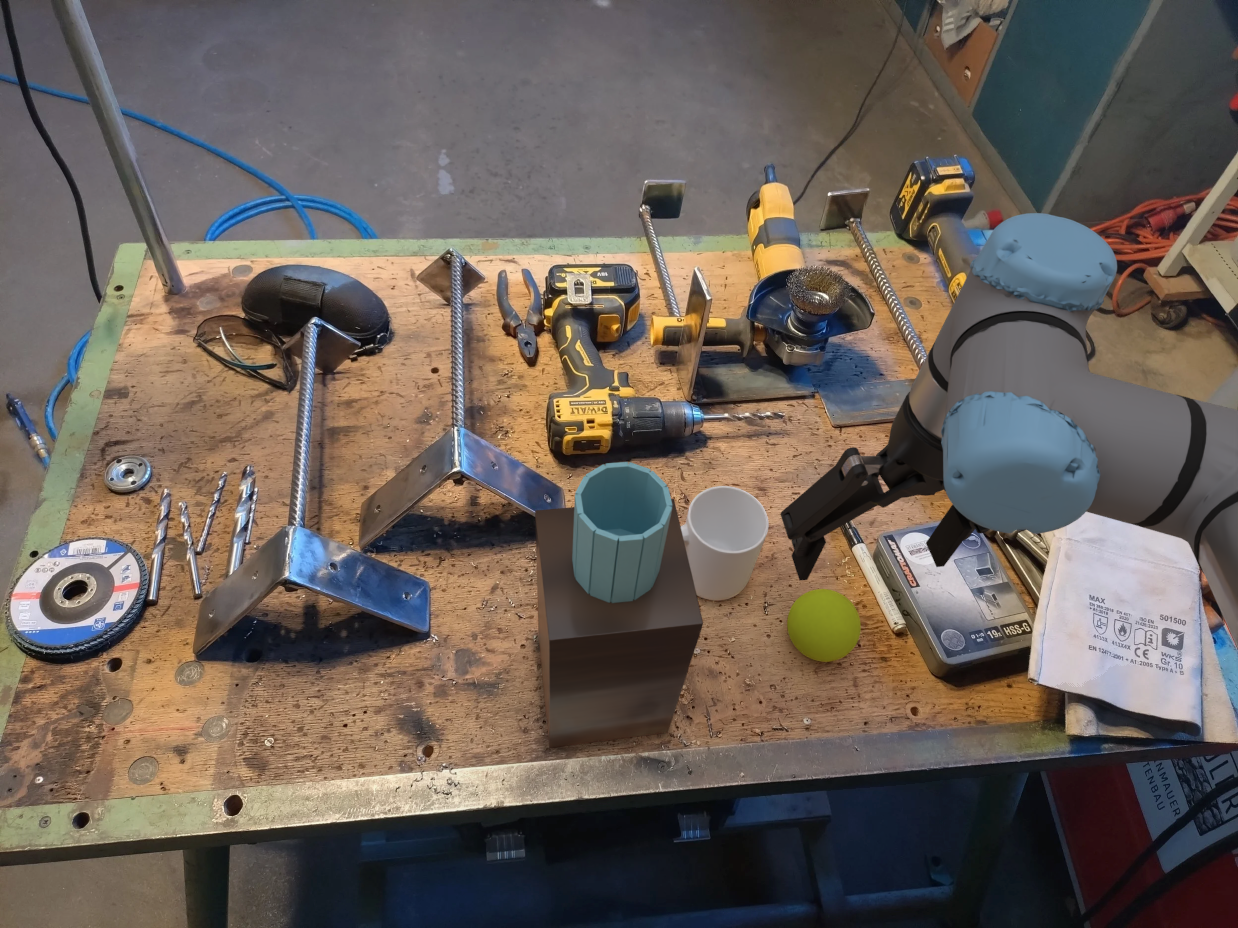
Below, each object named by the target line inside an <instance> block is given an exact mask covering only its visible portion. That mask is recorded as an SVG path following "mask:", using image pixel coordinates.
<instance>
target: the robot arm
mask: <svg viewBox="0 0 1238 928" xmlns="http://www.w3.org/2000/svg"><path fill="white" fill-rule="evenodd" d="M1116 257H1117V256H1116V255H1115V253H1114V250H1113V248H1112V247H1111V246H1110V245H1109V244H1108V242H1106V239H1104V238H1103V237H1102V236H1101V235H1099V234H1098V233H1097V232H1096V231H1094V230H1093V229H1091V228H1089V227H1087V226H1086V225H1084V224H1082V223H1080V222H1077V221H1075V220H1073V219H1070V218H1066V217H1062V216H1057V215H1054V214H1049V213H1042V212H1040V213H1039V212H1031V213H1030V212H1028V213H1022V214H1018V215H1014V216H1011V217H1008V218H1006V219H1005V220H1003V221H1002V222H1000V223H999V224H998V225H997V226H996V227H994V229H993V230H992V232H991V233H990V235H989V237H988V238H987V240H986V242H985V243H984V245H983V246H982V248H981V250H980V251H979V253H978V254H977V256H976V257H975V258H974V259H973V260H972V261H971V263H970V265H969V269H970V270H969V272H968V274H967V277H965V281H964V282H963V284H962V286H961V288H960V289H959V292H958V294H957V296H956V298H955V300H954V302H953V305H952V306H951V308H950V310H949V312H948V314H947V316H946V318H945V320H944V321H943V324H942V326H941V328H940V330H939V332H938V334H937V335H936V338H935V341H934V342H933V344H932V346H931V348H930V350H929V351H928V353H927V355H926V357H925V359H924V361H923V363H922V365H921V367H920V368H919V371H918V373H917V375H916V377H915V378H914V380H913V383H912V384H911V387H910V390H909V391H908V392H907V394H906V395H905V397H904V399H903V401H902V403H901V404H900V405H901V406H900V407H899V409H898V412H896V415H895V417H894V419H893V420H892V424H891V427H890V431H889V437H888V441H887V444H886V446H885V447H883V448H882V449H881V450H880V451H878V452H877V454H875V455H861V453H860V451H859V448H857V447H855V446H853V447H849V448H847V449H845V450H844V451H843V452H842V454H841V455H840V458H839V459H838V461H837V462H836V464H835V465H834V466H833V467H831V469H829V470H828V471H827V472H826V473H825V474H823V475H822V476H821V477H820V478H819V479H818V480H816V482H815V483H813V484H812V485H811V486H809V487H808V488H807V489H806V490H805V491H804V492H803V493H801V494H800V495H799V496H798V497H797V498H796V499H795V500H792V502H791V503H790V504H788V505H787V506H786V507H785V508H784V509H783V510H782V511H781V512H780V517H781V520H782V524H783V528H784V530H785V533H786V536H787V538H788V540H791V541H790V542H791V544H792V548H793V550H792V551H793V552H792V554H791V559H792V561H793V564H794V568H795V571H796V574H797V577H798V580H799V581H808V579H809V577H810V575H811V573H812V571H813V569H814V567H815V565H816V563H817V561H818V559H819V557H820V555H821V554H822V551H823V549H824V547H825V546H826V544H827V541H826V538H825V536H827V535H829V534H830V533H832V532H835V530H837V529H839V528H841V527H842V526H844V525H846V524H848V523H850V522H851V521H853V520H855V519H856V518H858V517H860V516H862V515H863V514H865V513H867V512H869V511H870V510H872V509H874V508H875V507H880V508H886V507H888V506H890V505H891V504H894V503H895V502H897V501H899V500H900V499H902V498H905V499H906V498H911V497H915V496H926V497H927V496H935V494H937V493H939V492H942V491H944V492H945V493H946V495H947V498H948V500H949V501H950V503H951V505H950V507H949V508H948V510H947V511H946V513H945V514H944V516H943V518H942V519H941V520H940V522H939V523H938V525H936V528H935V529H934V531H932V533H931V534H930V536H929V537H928V539H927V541H926V542H925V544H926V546H927V547H926V548H927V549H928V551H929V554H930V556H931V558H932V560H933V563H934V565H935V567H936V568H940V567H945V566H946V564H947V563H948V562H949V560H950V559H951V558H952V557H953V555H954V554H955V552H956V551H957V550H958V549H959V547H960V546H961V544H962V543H963V542H964V541H966V540H968V539H969V538H970V537H971V535H972V534H973V533H974V532H975V531H976V533H977V534H985V533H987V532H989V531H990V530H992V531H994V532H999V533H1004V534H1013V533H1014V532H1015V531H1025V530H1026V531H1028V532H1030V533H1031V534H1034V535H1036V534H1045V533H1049V532H1053V531H1056V530H1057V531H1058V530H1059V529H1063V528H1065V527H1067V526H1069V525H1072V524H1073V523H1074V522H1076V521H1078V520H1079V519H1080V518H1081V517H1082V516H1084V515H1085V514H1086V513H1088V514H1093V515H1096V516H1099V517H1100V516H1101V517H1103V518H1107V519H1110V520H1115V521H1117V522H1122V523H1126V524H1130V525H1133V526H1137V527H1140V528H1143V529H1146V530H1150V531H1154V532H1158V533H1161V534H1164V535H1168V536H1170V537H1174V538H1179V539H1181V540H1183V541H1185V542H1187V544H1188V545H1189V547H1190V549H1191V551H1192V554H1193V556H1194V558H1195V560H1196V563H1197V565H1198V568H1199V569H1200V571H1201V572H1202V574H1204V577H1205V579H1206V581H1207V584H1208V585H1209V586H1208V587H1209V588H1210V591H1211V593H1212V594H1213V597H1214V599H1215V601H1216V604H1217V606H1218V608H1219V611H1220V613H1221V615H1222V617H1223V619H1224V621H1225V623H1226V626H1227V628H1228V630H1229V632H1230V635H1231V638H1232V639H1233V642H1234V644H1235V646H1236V648H1237V649H1238V409H1236V408H1231V407H1227V406H1223V405H1220V404H1215V403H1212V402H1207V401H1203V400H1199V399H1194V398H1191V397H1188V396H1184V395H1180V394H1174V393H1171V392H1168V391H1167V392H1166V391H1163V390H1159V389H1156V388H1151V387H1147V386H1145V385H1141V384H1136V383H1134V382H1133V383H1132V382H1128V381H1125V380H1121V379H1116V378H1113V377H1110V376H1105V375H1101V374H1098V373H1097V374H1096V373H1093V372H1091V370H1090V367H1089V351H1088V344H1087V331H1086V330H1087V324H1088V322H1089V319H1090V318H1091V316H1092V315H1093V314H1094V312H1095V311H1097V310H1098V309H1100V308H1101V307H1102V305H1103V304H1104V303H1105V300H1104V298H1105V297H1106V295H1107V293H1108V291H1109V289H1110V287H1111V285H1112V284H1113V282H1114V280H1115V278H1116V276H1117V272H1118V261H1117V258H1116ZM879 477H880V478H881V480H882V481H883V482H884V484H885V486H886V487H887V488H888V490H886V491H884V489H883V487H882V484H881V482H880V480H879Z"/></svg>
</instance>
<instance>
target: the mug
mask: <svg viewBox="0 0 1238 928" xmlns="http://www.w3.org/2000/svg"><path fill="white" fill-rule="evenodd" d="M691 500H692V501H691V502H690V504H689V506H688V509H687V515H686V519H685V523H684V524H682V525H680V526H681V531H682V535H683V539H684V543H685V547H686V552H687V556H688V560H689V564H690V569H691V573H692V577H693V581H694V586H695V590H696V594H697V597H698V598H702V599H704V600H707V601H725V600H728V599H732V598H734V597H735V596H737V595H739V594H741V592H742V591H743V590H744V589H745V588H746V586H747V585H748V583H749V581H750V579H751V577H752V575H753V571H754V569H755V566H756V564H757V561H758V558H759V556H760V553H761V550H762V547H764V543H765V541H766V538H767V535H768V532H769V526H770V524H769V523H770V522H769V521H770V520H769V517H768V514H767V511H766V509H765V507H764V506H763V504H762V503H761V502H760V501H759V500H758V499H757V498H756V497H755V496H754V495H753V494H751V493H749V492H748V491H746V490H744V489H741V488H739V487H736V486H730V485H717V486H712V487H708V488H706V489H704V490H702V491H700V492H699V493H698V494H697V495H696V496H695V497H693V499H691Z"/></svg>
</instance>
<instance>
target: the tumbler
mask: <svg viewBox="0 0 1238 928" xmlns="http://www.w3.org/2000/svg"><path fill="white" fill-rule="evenodd" d="M671 499H672V497H671V492H670V488H669V487H668V484H667V483H666V482H665V481H664V480H663V479H662V478H661V477H660V476H659V475H658V474H657V473H656V472H655V471H654V470H652V469H651V468H648V467H645V466H642V465H640V464H637V463H634V462H632V461H630V462H628V461H619V462H609V463H605V464H604V463H603V464H601V465H600V466H598V467H596V468H595V469H593V470H591V471H589V472H587V473H586V474H585V475H584V476H583V477H582V479H581V481H580V483H579V485H578V487H577V489H576V491H575V492H574V503H573V504H574V505H573V507H574V529H573V554H572V562H573V569H574V576H575V577H576V580H577V581H578V583H579V584H580V585H581V586H582V587H583V589H584V590H585V591H586V592H587V593H588V594H589V593H590V596H593V597H596V598H598V599H601V600H603V601H606V602H609V603H610V602H612V603H618V602H628V601H633V599H634V600H636V599H637V598H639V597H640V596H642V595H643V594H645V593H646V592H648V591H649V590H650V589H651V587H653V585H654V582H655V580H656V578H657V575H658V573H659V570H660V565H661V560H662V555H663V550H664V546H665V541H666V536H667V531H668V526H669V522H670V517H671V512H672V501H671Z"/></svg>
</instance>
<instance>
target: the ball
mask: <svg viewBox="0 0 1238 928" xmlns="http://www.w3.org/2000/svg"><path fill="white" fill-rule="evenodd" d="M786 622H787V623H786V627H787V633H788V636H789V640H790V641H791V643H792V644H793V646H794V647H795V649H796V650H797V651H798V652H800V653H801V655H803V656H805V657H807V658H808V659H810V660H813V661H816V662H821V663H822V662H823V663H824V662H825V663H829V662H835V661H838V660H841V659H843V658H844V657H846V656H848V654H850V653H851V652H852V651H853V650H854V649H855V647H856V646H857V644H858V642H859V639H860V637H861V632H862V631H861V630H862V623H861V617H860V614H859V612H858V610H857V607H856V606H855V605H854V604H853V603H852V601H851V600H850V599H849V598H848V597H846V596H845V595H844V594H842V593H840V592H838V591H835V590H833V589H829V588H816V589H811V590H809V591H807V592H804V593H803V594H801V595H800V596H799V597H797V598H796V599H795V600H794V602H793V603H792V605H791V606H790V608H789V611H788V613H787V619H786Z"/></svg>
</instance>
